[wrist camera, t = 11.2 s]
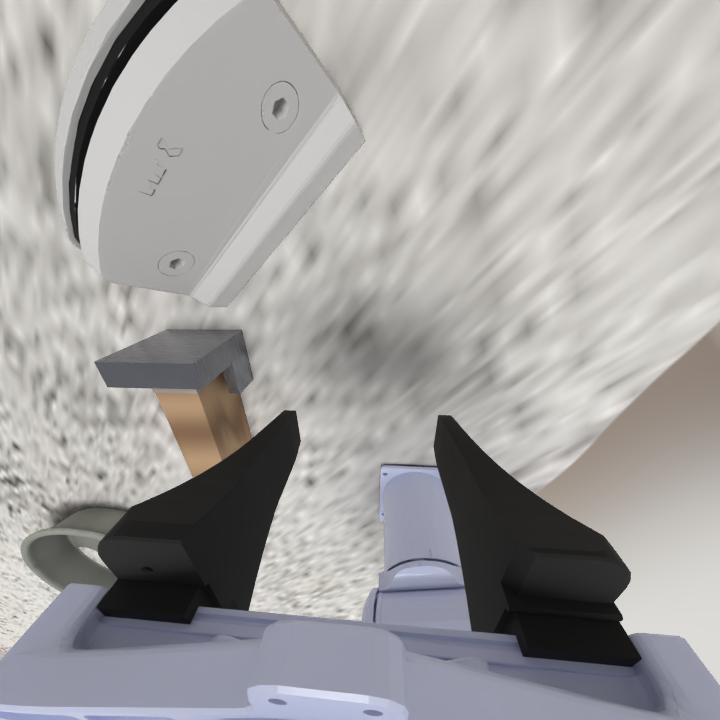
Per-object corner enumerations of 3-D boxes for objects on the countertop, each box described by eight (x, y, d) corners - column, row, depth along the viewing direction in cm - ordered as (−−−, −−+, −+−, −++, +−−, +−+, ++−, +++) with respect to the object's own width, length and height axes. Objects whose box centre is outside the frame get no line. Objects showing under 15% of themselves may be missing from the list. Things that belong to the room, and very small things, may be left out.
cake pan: (20, 497, 37) (-24, 529, 33) (175, 499, 35) (148, 534, 31) (107, 584, 48) (82, 616, 44) (231, 590, 45) (216, 625, 41)
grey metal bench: (252, 379, 25) (213, 423, 19) (184, 377, 25) (125, 420, 19) (241, 330, 22) (192, 363, 17) (166, 329, 23) (94, 361, 17)
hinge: (224, 310, 22) (60, 310, 12) (191, 267, 22) (6, 235, 13) (370, 135, 16) (269, -114, 7) (324, 78, 16) (162, -240, 7)
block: (252, 439, 28) (228, 479, 24) (221, 438, 29) (191, 477, 24) (230, 358, 24) (195, 388, 19) (194, 358, 24) (151, 387, 20)
